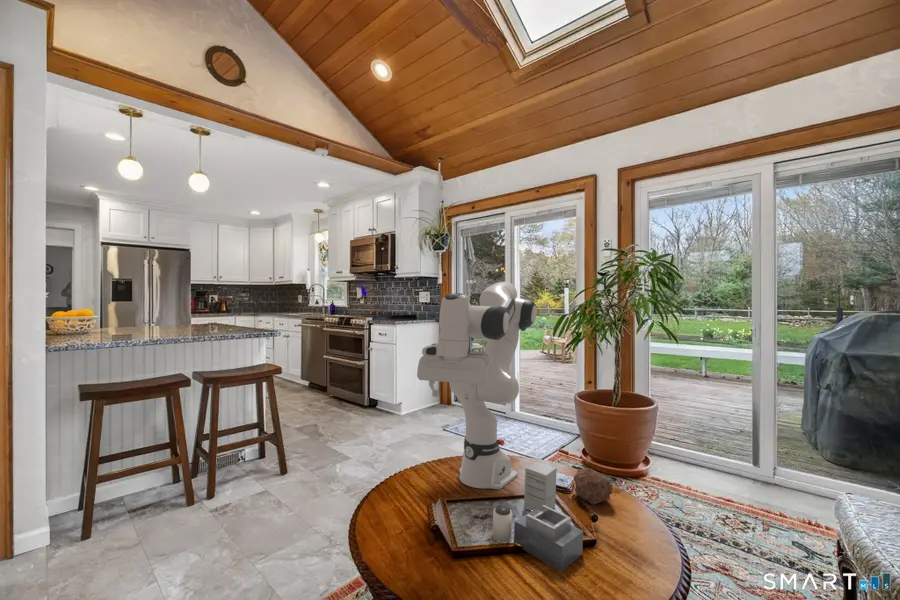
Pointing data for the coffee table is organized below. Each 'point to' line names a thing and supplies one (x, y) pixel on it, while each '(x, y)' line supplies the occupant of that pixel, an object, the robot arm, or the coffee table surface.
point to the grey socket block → (549, 537)
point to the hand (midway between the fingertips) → (451, 397)
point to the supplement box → (540, 486)
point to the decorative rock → (592, 486)
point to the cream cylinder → (502, 523)
